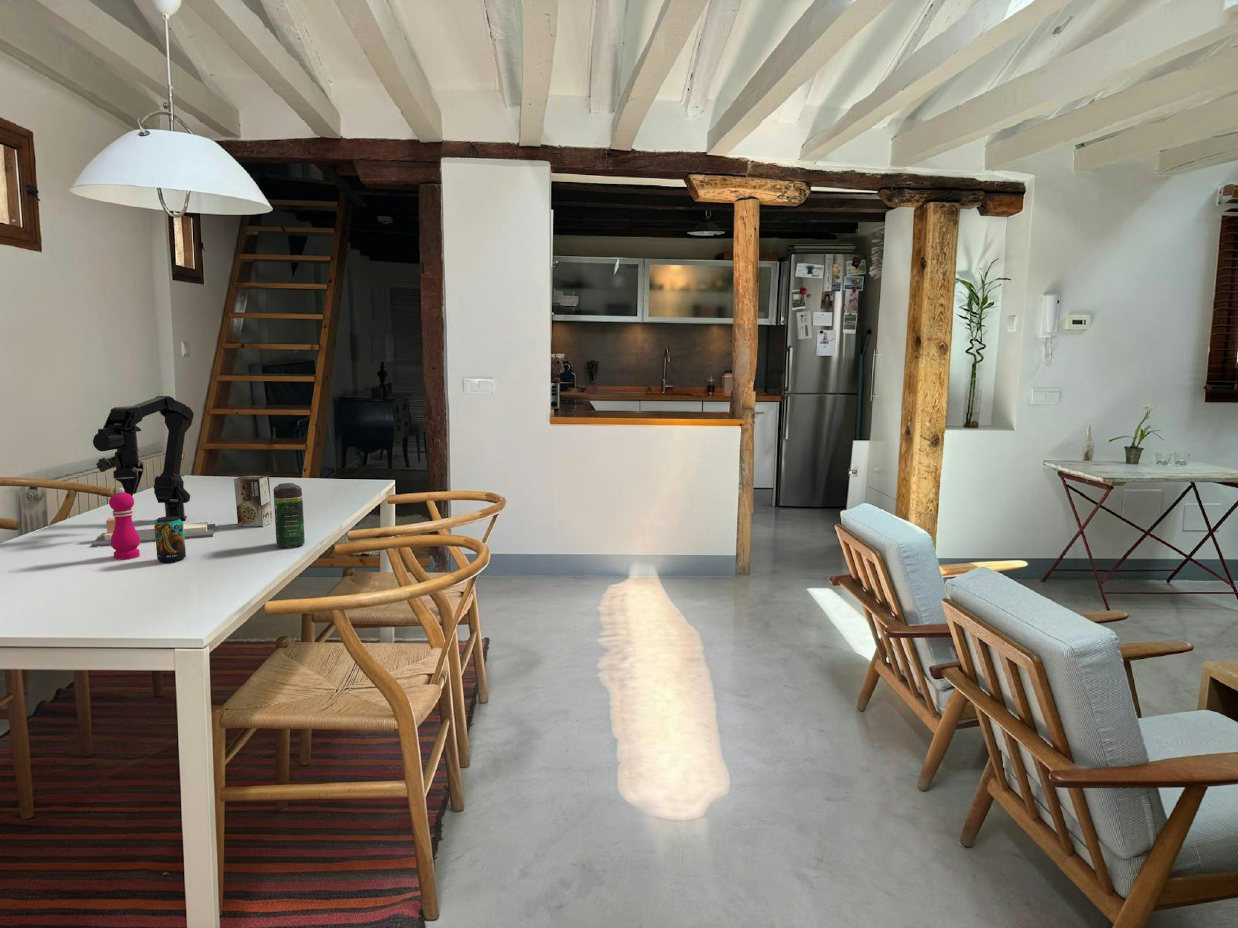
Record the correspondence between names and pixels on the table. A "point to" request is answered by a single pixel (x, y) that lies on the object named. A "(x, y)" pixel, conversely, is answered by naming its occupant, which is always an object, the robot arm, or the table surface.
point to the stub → (109, 528)
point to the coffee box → (253, 500)
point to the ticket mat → (149, 534)
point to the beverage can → (170, 539)
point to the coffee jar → (289, 515)
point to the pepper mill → (124, 527)
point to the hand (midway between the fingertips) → (131, 495)
